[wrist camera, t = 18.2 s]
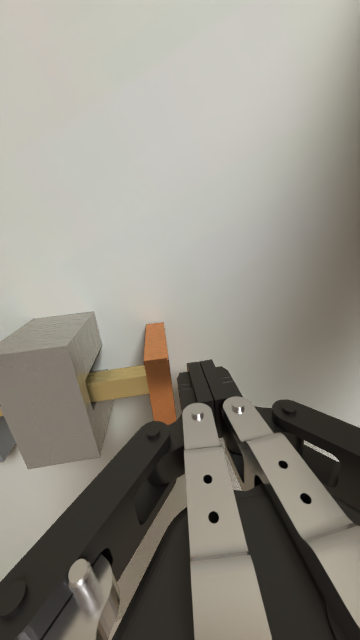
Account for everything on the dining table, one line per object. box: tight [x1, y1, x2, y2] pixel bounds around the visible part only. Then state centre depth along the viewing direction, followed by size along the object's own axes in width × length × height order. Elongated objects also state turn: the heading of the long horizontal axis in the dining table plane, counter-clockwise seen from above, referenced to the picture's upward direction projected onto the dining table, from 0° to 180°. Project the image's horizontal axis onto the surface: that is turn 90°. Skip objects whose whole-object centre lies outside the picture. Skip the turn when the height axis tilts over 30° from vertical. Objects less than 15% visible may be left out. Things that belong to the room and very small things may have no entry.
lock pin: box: [0, 322, 176, 425], centre depth 14 cm, size 12×4×5 cm, turn 96°
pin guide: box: [0, 312, 114, 469], centre depth 14 cm, size 7×4×5 cm, turn 6°
